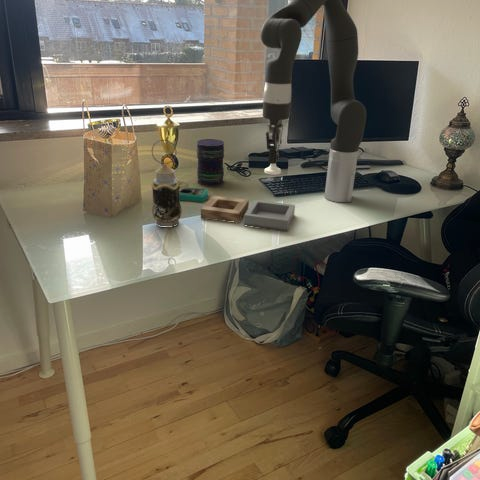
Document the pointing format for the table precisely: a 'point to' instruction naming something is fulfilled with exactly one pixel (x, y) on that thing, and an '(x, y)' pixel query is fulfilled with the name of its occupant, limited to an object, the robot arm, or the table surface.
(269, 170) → the chess piece
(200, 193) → the digital multimeter
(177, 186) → the lantern
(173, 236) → the table surface
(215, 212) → the socket stand
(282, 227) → the parts tray
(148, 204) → the table surface
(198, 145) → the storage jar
